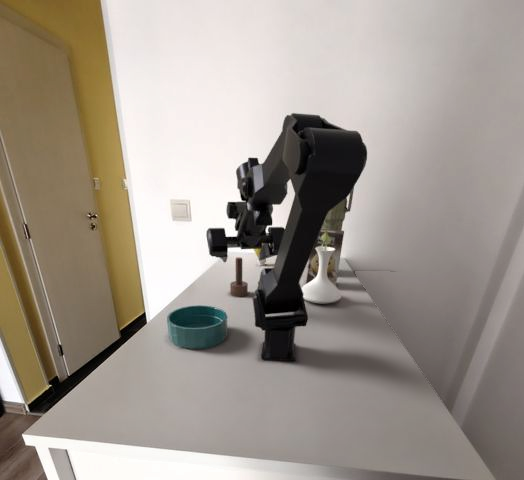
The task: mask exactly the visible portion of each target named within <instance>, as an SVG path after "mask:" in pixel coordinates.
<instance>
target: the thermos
mask: <svg viewBox="0 0 524 480" xmlns="http://www.w3.org/2000/svg"><path fill="white" fill-rule="evenodd" d="M354 191H355V186H354V187H353V189H352V191H351V192H350V194H349V196H348V197H346V198H345V199H344V200H343V201H341V202H340V203H339V204H337V205H336V206H335V207H334V208H332V209H331V210H330V211H329V212H328V214H327V216H326V218H325V221H324V223H325V226H326V229H328V230H340V231H343V230H342V229H343V225H344V224H343V223H344V221H345V219H346V214H347V213H350V212H351V209H352V205H353V197H354ZM321 229H325V228H324V225H323V226H322V228H321Z"/></svg>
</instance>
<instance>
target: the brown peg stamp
mask: <svg viewBox="0 0 524 480" xmlns="http://www.w3.org/2000/svg"><path fill="white" fill-rule="evenodd" d="M229 285H230V287H229V288H230V290H229V291H230V292H229V293H230V296H232V297H235V298H236V297H237V298H242V297H246V296H248V293H249V291H248V290H249V285H248V282H246V281H243V257H240V256H238V257H235V280H233V281H231V282H230V283H229Z"/></svg>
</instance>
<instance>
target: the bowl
mask: <svg viewBox="0 0 524 480" xmlns="http://www.w3.org/2000/svg"><path fill="white" fill-rule="evenodd" d="M166 323H167V324H166V325H167V332H168V339H169V340H170V341H171V343H173V344H174V345H175V346H177V347H180V348H183V349H188V350H202V349H203V350H204V349H208V348H213V347H215V346H218V345H219V344H222V342H224V340H226V338H227V336H228V315H227V313H226V311H225V310H223V309H221V308H219V307H216V306H211V305H204V304H203V305H202V304H201V305H199V304H197V305H188V306H181V307H180V308H176V309H174V310H172V311H171V312H169V313H168V315H167V316H166Z"/></svg>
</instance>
